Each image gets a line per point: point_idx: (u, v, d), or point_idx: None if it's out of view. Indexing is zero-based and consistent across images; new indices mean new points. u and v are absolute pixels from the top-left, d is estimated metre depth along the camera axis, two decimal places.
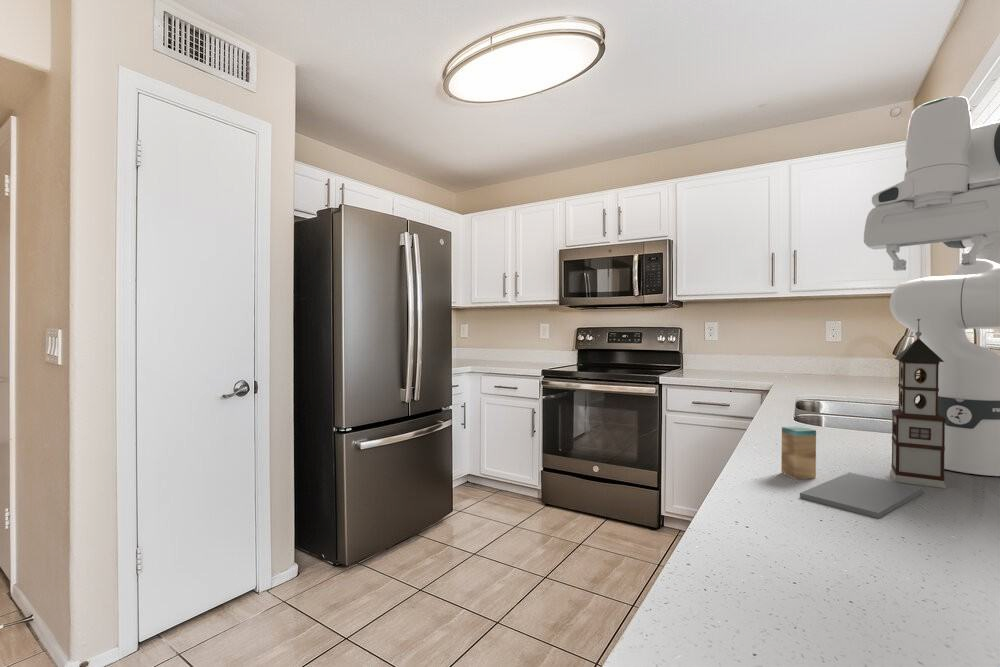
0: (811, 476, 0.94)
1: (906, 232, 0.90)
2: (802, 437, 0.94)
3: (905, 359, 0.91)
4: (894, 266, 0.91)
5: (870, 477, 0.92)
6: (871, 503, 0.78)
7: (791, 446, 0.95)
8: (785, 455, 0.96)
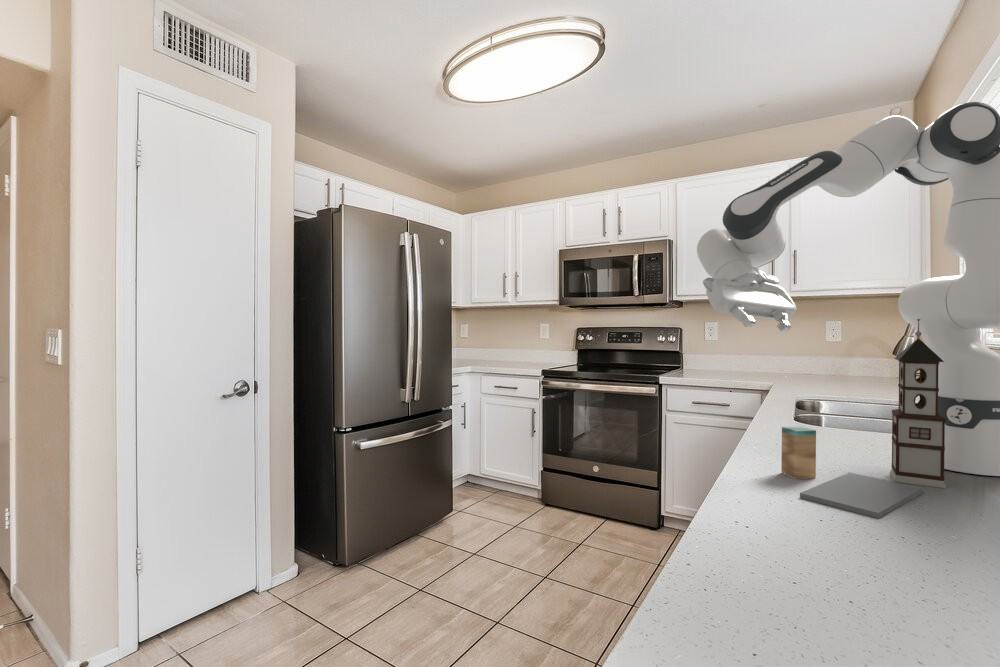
0: (811, 476, 0.94)
1: None
2: (802, 437, 0.94)
3: (905, 359, 0.91)
4: None
5: (870, 477, 0.92)
6: (871, 503, 0.78)
7: (791, 446, 0.95)
8: (785, 455, 0.96)
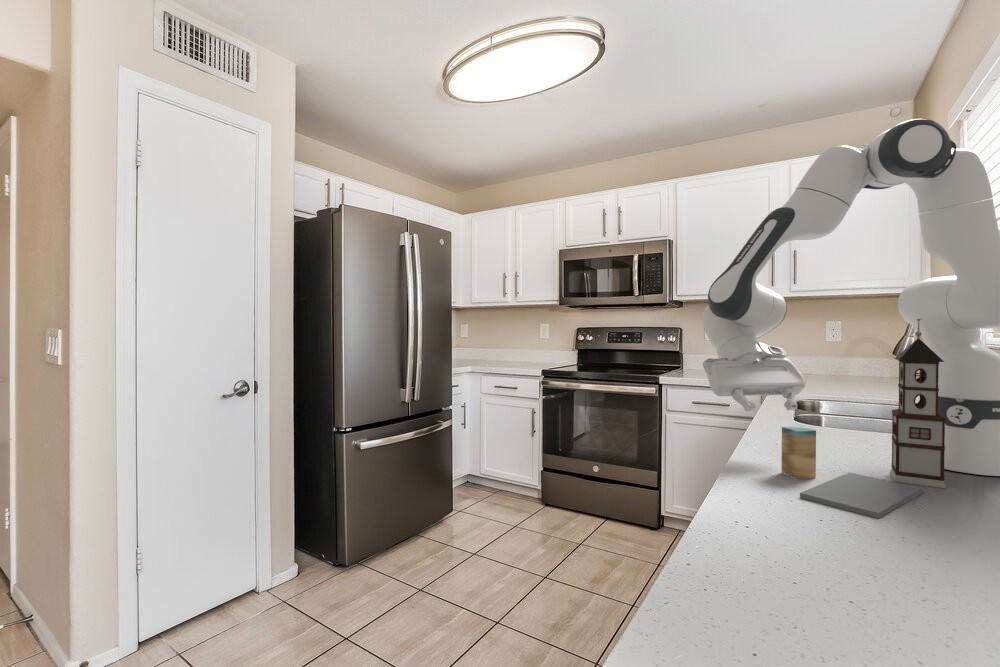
0: (811, 476, 0.94)
1: None
2: (802, 437, 0.94)
3: (905, 359, 0.91)
4: None
5: (870, 477, 0.92)
6: (871, 503, 0.78)
7: (791, 446, 0.95)
8: (785, 455, 0.96)
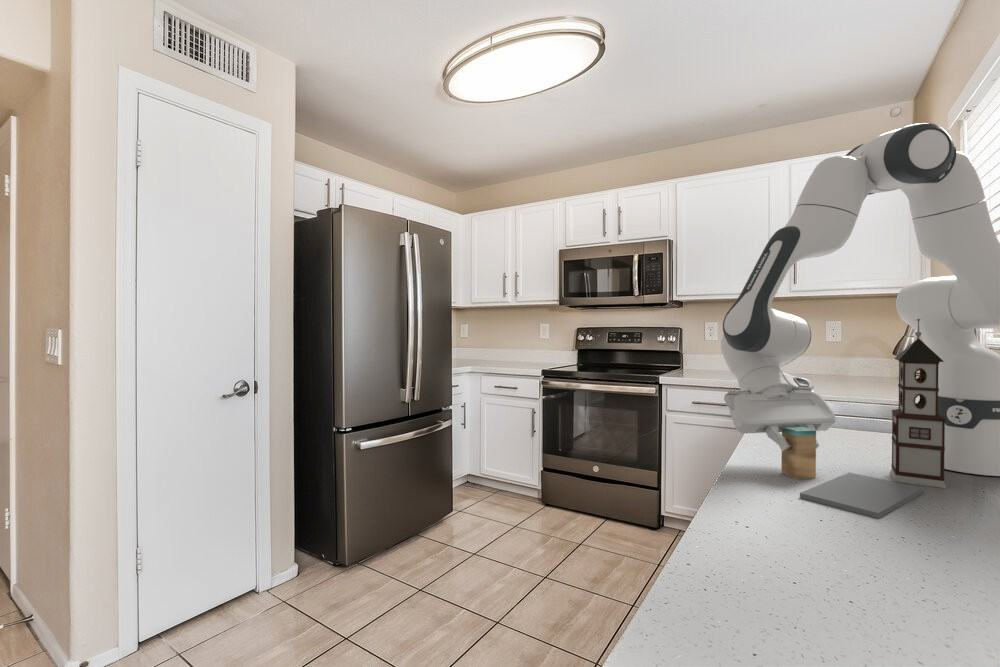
0: (811, 476, 0.94)
1: None
2: (802, 437, 0.94)
3: (905, 359, 0.91)
4: None
5: (870, 477, 0.92)
6: (871, 503, 0.78)
7: None
8: (785, 454, 0.96)
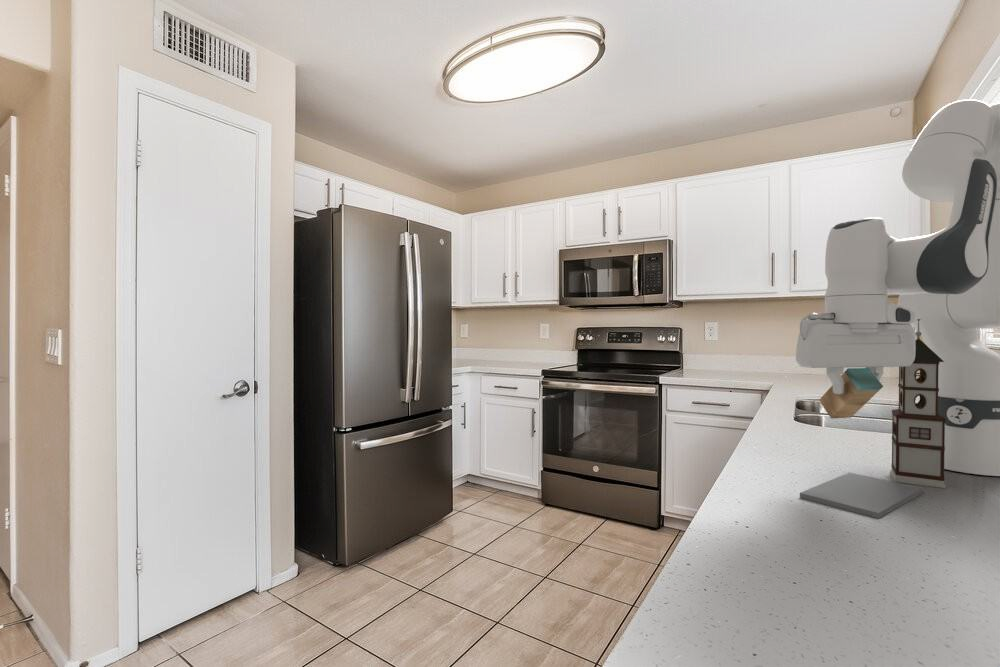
0: (847, 416, 0.89)
1: None
2: (863, 391, 0.83)
3: None
4: None
5: (870, 477, 0.92)
6: (871, 503, 0.78)
7: None
8: None
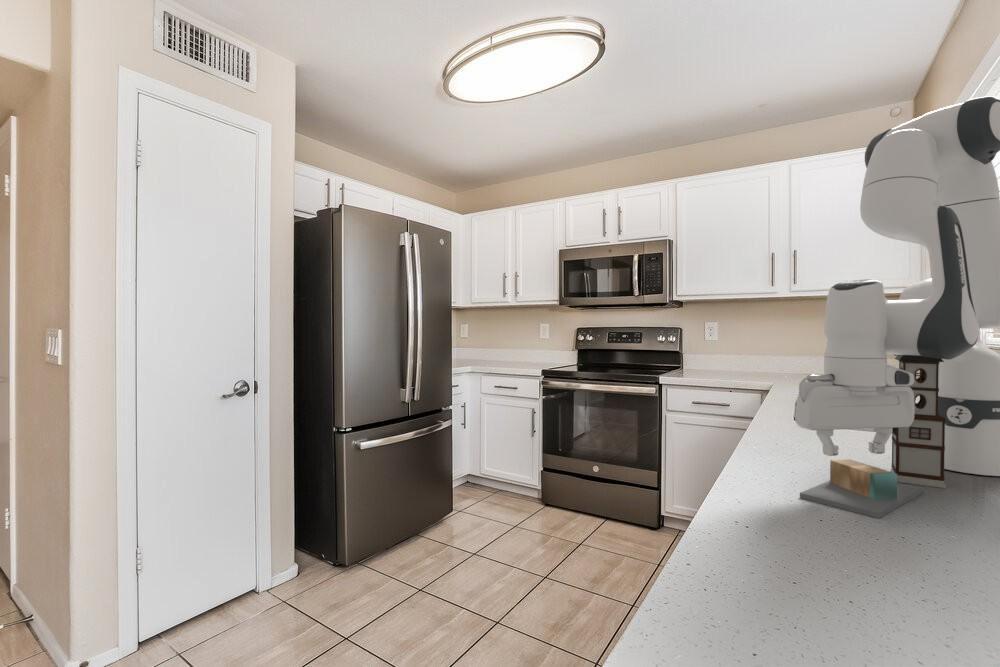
0: None
1: None
2: None
3: (905, 359, 0.91)
4: None
5: None
6: (871, 503, 0.78)
7: (858, 484, 0.83)
8: (847, 471, 0.85)
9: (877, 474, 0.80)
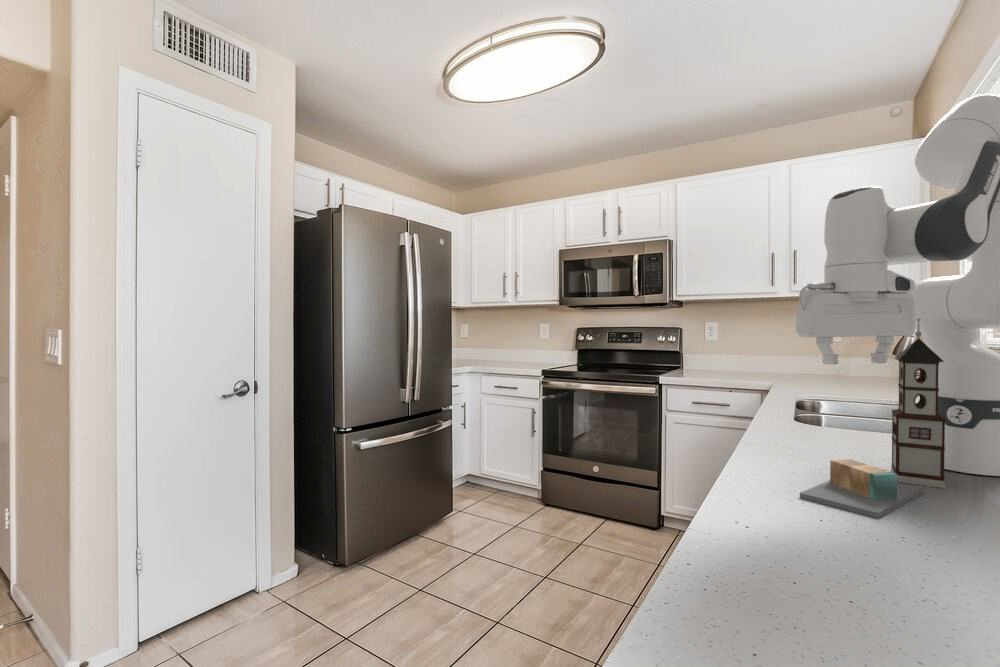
0: None
1: None
2: None
3: (905, 359, 0.91)
4: None
5: None
6: (871, 503, 0.78)
7: (858, 484, 0.83)
8: (847, 471, 0.85)
9: (877, 474, 0.80)
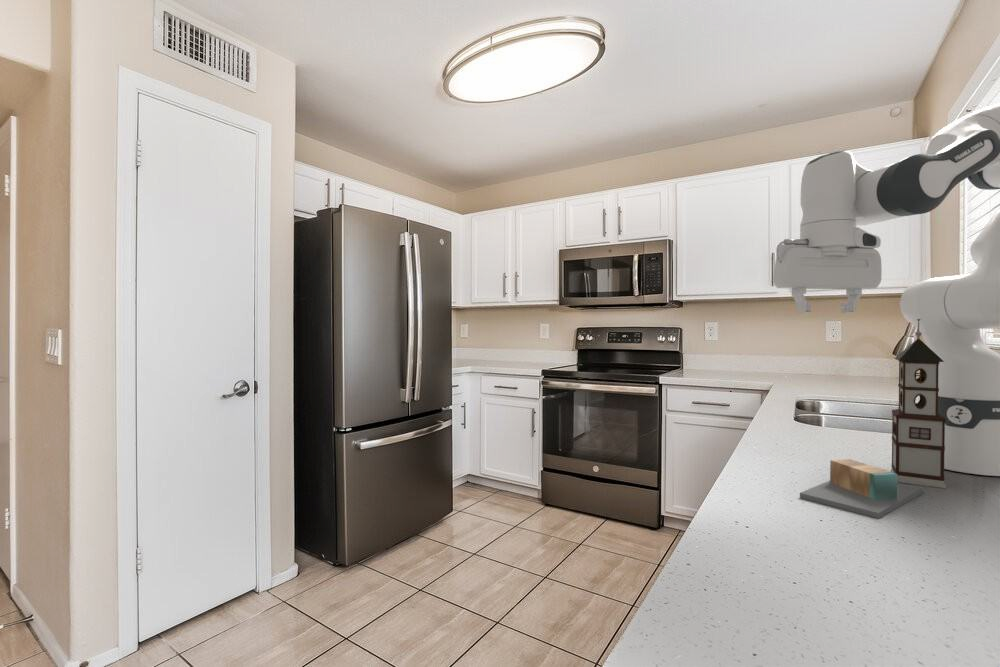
0: None
1: None
2: None
3: (905, 359, 0.91)
4: None
5: None
6: (871, 503, 0.78)
7: (858, 484, 0.83)
8: (847, 471, 0.85)
9: (877, 474, 0.80)
